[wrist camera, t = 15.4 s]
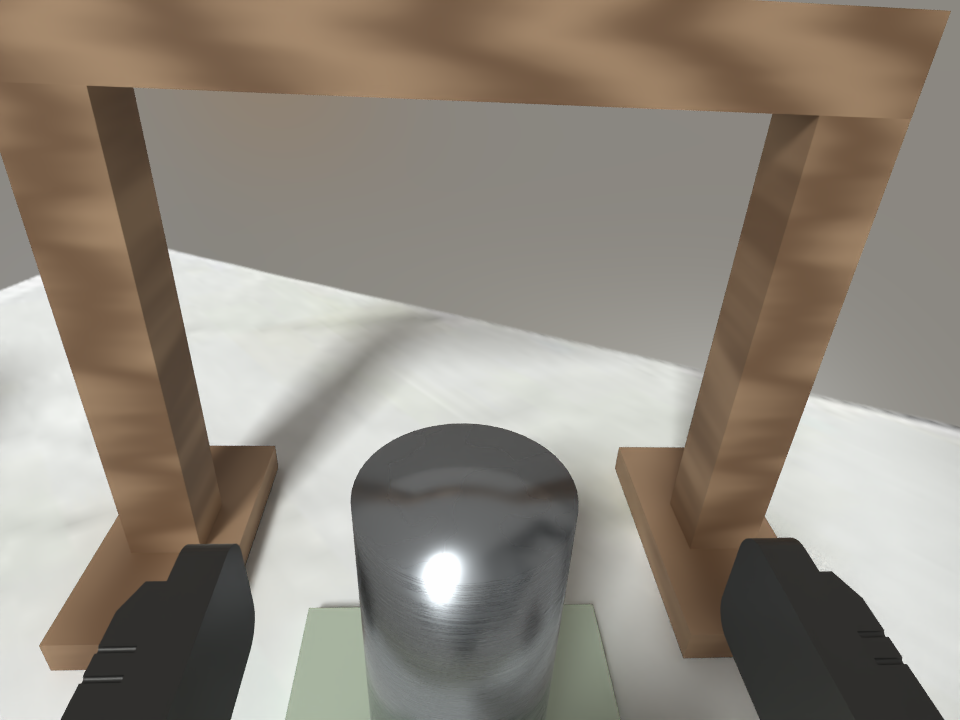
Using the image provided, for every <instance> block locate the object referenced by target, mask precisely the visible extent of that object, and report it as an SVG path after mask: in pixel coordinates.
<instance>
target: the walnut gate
mask: <svg viewBox="0 0 960 720" xmlns="http://www.w3.org/2000/svg"><path fill="white" fill-rule="evenodd" d="M950 12H951V11H943V10H925V9H905V8H887V7H869V6H850V5H849V6H848V5H831V4H812V3H792V2H774V1H755V0H0V153H1V156H2V159H3V162H4V165H5V168H6V171H7V174H8V177H9V180H10V184H11V187H12V190H13V193H14V196H15V199H16V202H17V205H18V208H19V211H20V214H21V217H22V220H23V223H24V226H25V230H26V232H27V236H28V239H29V242H30V245H31V248H32V251H33V254H34V257H35V260H36V263H37V266H38V269H39V272H40V275H41V278H42V282H43V285H44V288H45V291H46V294H47V297H48V300H49V303H50V306H51V309H52V312H53V315H54V318H55V321H56V324H57V327H58V331H59V334H60V337H61V340H62V343H63V346H64V349H65V352H66V355H67V358H68V361H69V364H70V367H71V370H72V373H73V376H74V379H75V383H76V386H77V389H78V392H79V395H80V398H81V401H82V404H83V407H84V410H85V413H86V416H87V419H88V422H89V425H90V428H91V432H92V435H93V438H94V441H95V444H96V447H97V450H98V453H99V456H100V459H101V462H102V465H103V468H104V471H105V474H106V477H107V480H108V484H109V487H110V490H111V493H112V496H113V499H114V502H115V505H116V508H117V511H118V514H119V515H118V517H117V519H116V520H115V522H114V524H113V525H112V527H111V528H110V530H109V532H108V533H107V535H106V537H105V538H104V540H103V542H102V543H101V545H100V547H99V548H98V550H97V551H96V553H95V555H94V556H93V558H92V560H91V561H90V563H89V565H88V566H87V568H86V570H85V571H84V573H83V574H82V576H81V578H80V579H79V581H78V583H77V584H76V586H75V588H74V589H73V591H72V593H71V594H70V596H69V597H68V599H67V601H66V602H65V604H64V606H63V607H62V609H61V611H60V612H59V614H58V616H57V617H56V619H55V620H54V622H53V624H52V625H51V627H50V629H49V630H48V632H47V634H46V635H45V637H44V639H43V640H42V642H41V643H40V645H39V647H40V649H41V651H42V653H43V655H44V657H45V659H46V661H47V663H48V665H49V667H50V669H51V670H86V669H87V667H88V665H89V663H90V661H91V659H92V657H93V655H94V654H97V652H98V646H99V644H100V642H101V640H102V638H103V636H104V634H105V632H106V630H107V628H108V626H109V624H110V622H111V620H112V618H113V616H114V614H115V612H116V611H117V610H118V609H119V608H120V607H121V606H122V605H123V604H124V603H125V602H126V601H127V600H128V599H129V598H130V597H131V596H132V595H133V594H134V593H135V592H136V591H137V590H138V589H139V588H140V586H141V585H142V584H143V583H144V582H145V581H167V579H168V577H169V575H170V572H171V570H172V568H173V566H174V564H175V561H176V559H177V557H178V555H179V553H180V551H181V550H182V548H183V547H184V546H185V545H187V544H238V545H239V546H240V548H241V551H242V556H243V560H244V564H246V561H247V558H248V555H249V552H250V549H251V547H252V544H253V541H254V538H255V535H256V532H257V529H258V526H259V523H260V520H261V517H262V514H263V511H264V508H265V505H266V502H267V499H268V496H269V493H270V490H271V487H272V484H273V481H274V478H275V476H276V473H277V470H278V463H277V456H276V449H275V446H210V445H209V441H208V436H207V431H206V427H205V422H204V417H203V413H202V408H201V403H200V398H199V394H198V389H197V384H196V380H195V375H194V370H193V366H192V361H191V356H190V352H189V347H188V342H187V337H186V333H185V328H184V323H183V319H182V314H181V309H180V305H179V300H178V295H177V291H176V286H175V281H174V276H173V272H172V267H171V262H170V258H169V253H168V248H167V244H166V239H165V234H164V230H163V225H162V220H161V216H160V211H159V206H158V202H157V197H156V192H155V188H154V183H153V178H152V173H151V169H150V164H149V159H148V154H147V150H146V145H145V140H144V136H143V131H142V126H141V122H140V117H139V112H138V108H137V103H136V98H135V93H134V89H133V87H135V88H159V89H183V90H208V91H233V92H256V93H281V94H305V95H329V96H354V97H355V96H356V97H379V98H404V99H427V100H428V99H429V100H452V101H477V102H500V103H525V104H550V105H551V104H552V105H575V106H598V107H623V108H624V107H625V108H647V109H671V110H696V111H697V110H698V111H720V112H721V111H722V112H745V113H770V114H772V118H771V122H770V125H769V129H768V133H767V137H766V140H765V144H764V148H763V152H762V156H761V159H760V163H759V167H758V171H757V175H756V178H755V182H754V186H753V190H752V194H751V197H750V201H749V205H748V209H747V213H746V216H745V220H744V224H743V228H742V232H741V235H740V239H739V243H738V247H737V251H736V255H735V258H734V262H733V266H732V270H731V274H730V278H729V281H728V285H727V289H726V292H725V296H724V300H723V304H722V308H721V311H720V315H719V319H718V323H717V327H716V331H715V334H714V338H713V342H712V346H711V350H710V353H709V357H708V361H707V364H706V368H705V372H704V376H703V380H702V383H701V387H700V391H699V395H698V399H697V402H696V406H695V410H694V414H693V418H692V421H691V425H690V429H689V433H688V437H687V440H686V444H685V448H654V447H619V451H618V456H617V461H616V466H615V469H616V472H617V475H618V478H619V480H620V483H621V486H622V489H623V491H624V494H625V497H626V500H627V503H628V505H629V508H630V511H631V514H632V516H633V519H634V522H635V525H636V528H637V530H638V533H639V536H640V539H641V542H642V544H643V547H644V550H645V553H646V555H647V558H648V561H649V564H650V567H651V569H652V572H653V575H654V578H655V580H656V583H657V586H658V589H659V592H660V594H661V597H662V600H663V603H664V605H665V608H666V611H667V614H668V617H669V619H670V622H671V625H672V628H673V631H674V633H675V636H676V639H677V642H678V644H679V647H680V650H681V653H682V656H683V658H717V657H733V655H732V653H731V650H730V648H729V646H728V643H727V641H726V638H725V636H724V632H723V628H722V623H721V615H720V606H721V599H722V596H723V593H724V590H725V587H726V584H727V581H728V578H729V576H730V573H731V570H732V567H733V564H734V561H735V559H736V556H737V553H738V550H739V547H740V545H741V543H742V542H743V540H745V539H747V538H777V536H776V535H775V533H774V531H773V530H772V528H771V526H770V525H769V523H768V521H767V520H766V518H765V514H766V511H767V508H768V505H769V503H770V500H771V497H772V495H773V492H774V489H775V487H776V484H777V481H778V478H779V476H780V473H781V470H782V468H783V465H784V462H785V459H786V457H787V454H788V451H789V449H790V446H791V443H792V440H793V438H794V435H795V432H796V430H797V427H798V424H799V421H800V419H801V416H802V413H803V411H804V408H805V405H806V402H807V400H808V397H809V394H810V391H811V389H812V386H813V384H814V381H815V378H816V375H817V373H818V370H819V367H820V364H821V361H822V359H823V356H824V353H825V351H826V348H827V346H828V343H829V340H830V337H831V335H832V332H833V329H834V327H835V324H836V321H837V318H838V316H839V313H840V310H841V307H842V305H843V302H844V300H845V297H846V294H847V291H848V289H849V286H850V283H851V280H852V278H853V275H854V272H855V270H856V267H857V264H858V262H859V259H860V256H861V253H862V251H863V248H864V245H865V243H866V240H867V237H868V234H869V232H870V229H871V226H872V223H873V221H874V218H875V216H876V213H877V210H878V207H879V205H880V202H881V199H882V196H883V194H884V191H885V188H886V186H887V183H888V180H889V177H890V175H891V172H892V169H893V167H894V164H895V161H896V159H897V156H898V153H899V150H900V147H901V145H902V142H903V139H904V137H905V134H906V132H907V129H908V126H909V123H910V121H911V118H912V115H913V113H914V110H915V107H916V104H917V101H918V99H919V96H920V94H921V91H922V88H923V85H924V83H925V80H926V77H927V75H928V72H929V69H930V66H931V64H932V61H933V58H934V56H935V53H936V50H937V48H938V45H939V42H940V39H941V37H942V34H943V31H944V29H945V26H946V23H947V20H948V18H949V15H950Z"/></svg>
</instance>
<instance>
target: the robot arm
mask: <svg viewBox="0 0 960 720" xmlns="http://www.w3.org/2000/svg"><path fill="white" fill-rule="evenodd" d="M720 615H721V623H722V628H723V632H724V636H725V638H726V641H727V643H728V646H729V648H730V650H731V653H732V655H733V657H734V660H735V662H736V664H737V667H738V669H739V672H740V674H741V676H742V679H743V681H744V683H745V686H746V688H747V690H748V693H749V695H750V697H751V700H752V702H753V704H754V707H755V709H756V711H757V714H758V716H759V719H760V720H944V719H943V717H942V716H941V714H940V713H939V711H938V710H937V708H936V707H935V705H934V704H933V702H932V701H931V699H930V698H929V696H928V695H927V693H926V692H925V690H924V689H923V687H922V686H921V684H920V683H919V681H918V680H917V678H916V677H915V675H914V674H913V673H912V671H911V670H910V668H909V667H908V665H907V664H904V663H903V662H902V656H901V655H900V653H899V652H898V650H897V649H896V647H895V646H894V644H893V643H892V641H891V640H890V638H889V637H885V635H884V629H883V628H882V626H881V625H880V623H879V622H878V620H877V619H876V617H875V616H874V615H873V613H872V612H871V610H870V609H869V607H868V606H867V604H866V603H865V601H864V600H863V598H862V597H860V596H859V595H858V594H857V593H856V592H855V591H854V590H852V589H851V588H850V587H849V586H848V585H847V584H846V583H844V582H843V581H842V580H841V579H840V578H839V577H838V576H836V575H835V574H834V573H833V572H832V571H828V572H819V570H818V569H817V567H816V565H815V564H814V562H813V561H812V559H811V557H810V556H809V554H808V553H807V551H806V549H805V548H804V547H803V545H802V544H801V543H800V542H799V541H798V540H796V539H794V538H747V539H745V540H743V542H742V543H741V545H740V547H739V550H738V553H737V556H736V559H735V561H734V564H733V567H732V570H731V573H730V576H729V578H728V581H727V584H726V587H725V590H724V593H723V596H722V599H721V606H720ZM254 624H255V611H254V604H253V599H252V595H251V591H250V586H249V582H248V577H247V573H246V569H245V564H244V560H243V556H242V551H241V548H240V546H239V545H238V544H187V545H185V546H184V547H183V548H182V550H181V551H180V553H179V555H178V557H177V559H176V561H175V564H174V566H173V568H172V570H171V572H170V575H169V577H168V579H167V581H145V582H144V583H143V584H142V585H141V586H140V588H139V589H138V590H137V591H136V592H135V593H134V594H133V595H132V596H131V597H130V598H129V599H128V600H127V601H126V602H125V603H124V604H123V605H122V606H121V607H120V608H119V609H118V610H117V611H116V612H115V614H114V616H113V618H112V620H111V622H110V624H109V626H108V628H107V630H106V632H105V634H104V636H103V638H102V640H101V642H100V644H99V646H98V652H97V654H94V655H93V657H92V659H91V661H90V663H89V665H88V667H87V669H86V671H85V673H84V675H83V682H82V683H81V684H79V685H78V687H77V689H76V691H75V693H74V695H73V697H72V698H71V700H70V702H69V704H68V706H67V708H66V710H65V712H64V714H63V716H62V718H61V720H231V717H232V713H233V709H234V706H235V702H236V699H237V695H238V692H239V688H240V685H241V681H242V678H243V674H244V671H245V667H246V664H247V660H248V657H249V653H250V649H251V645H252V640H253V634H254Z"/></svg>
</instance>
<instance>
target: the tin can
mask: <svg viewBox="0 0 960 720" xmlns="http://www.w3.org/2000/svg"><path fill="white" fill-rule="evenodd" d="M351 511H352V522H353V533H354V544H355V555H356V566H357V577H358V588H359V599H360V610H361V621H362V632H363V643H364V654H365V665H366V676H367V687H368V698H369V709H370V719H371V720H545V719H546V713H547V706H548V700H549V694H550V687H551V681H552V675H553V668H554V662H555V656H556V649H557V643H558V636H559V630H560V624H561V617H562V611H563V605H564V598H565V592H566V586H567V579H568V573H569V567H570V560H571V554H572V547H573V541H574V535H575V528H576V522H577V516H578V495H577V490H576V487H575V484H574V481H573V479H572V477H571V475H570V474H569V472H568V470H567V469H566V468H565V466H564V465H563V464H562V463H561V462H560V461H559V459H558V458H557V457H556V456H555V455H553V454H552V453H551V452H550V451H548V450H547V449H546V448H545V447H543V446H541V445H540V444H538V443H537V442H535V441H533V440H531V439H529V438H527V437H525V436H523V435H520V434H518V433H515V432H512V431H509V430H506V429H502V428H498V427H493V426H488V425H480V424H446V425H437V426H432V427H427V428H423V429H420V430H416V431H413V432H410V433H408V434H405V435H403V436H401V437H399V438H397V439H395V440H393V441H391V442H389V443H388V444H386V445H385V446H383V447H382V448H380V449H379V450H378V451H377V452H375V453H374V454H373V455H372V456H371V457H370V458H369V459H368V460H367V461H366V463H365V464H364V465H363V467H362V468H361V470H360V471H359V473H358V475H357V477H356V479H355V481H354V485H353V488H352V493H351Z"/></svg>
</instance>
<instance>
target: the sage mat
mask: <svg viewBox="0 0 960 720" xmlns="http://www.w3.org/2000/svg"><path fill="white" fill-rule="evenodd" d="M285 720H371V719H370V709H369V698H368V687H367V676H366V665H365V654H364V643H363V632H362V621H361V610H360V607H348V608H309V610H308V615H307V620H306V624H305V629H304V634H303V638H302V643H301V648H300V653H299V657H298V662H297V667H296V671H295V676H294V681H293V686H292V690H291V695H290V700H289V704H288V709H287V714H286V718H285ZM545 720H621V719H620V715H619V711H618V707H617V703H616V699H615V695H614V691H613V686H612V682H611V678H610V674H609V670H608V666H607V662H606V658H605V654H604V649H603V645H602V641H601V637H600V633H599V629H598V625H597V621H596V617H595V613H594V608H593V604H573V605H563V611H562V617H561V624H560V630H559V636H558V643H557V649H556V656H555V662H554V668H553V675H552V681H551V687H550V694H549V700H548V706H547V713H546V719H545Z"/></svg>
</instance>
